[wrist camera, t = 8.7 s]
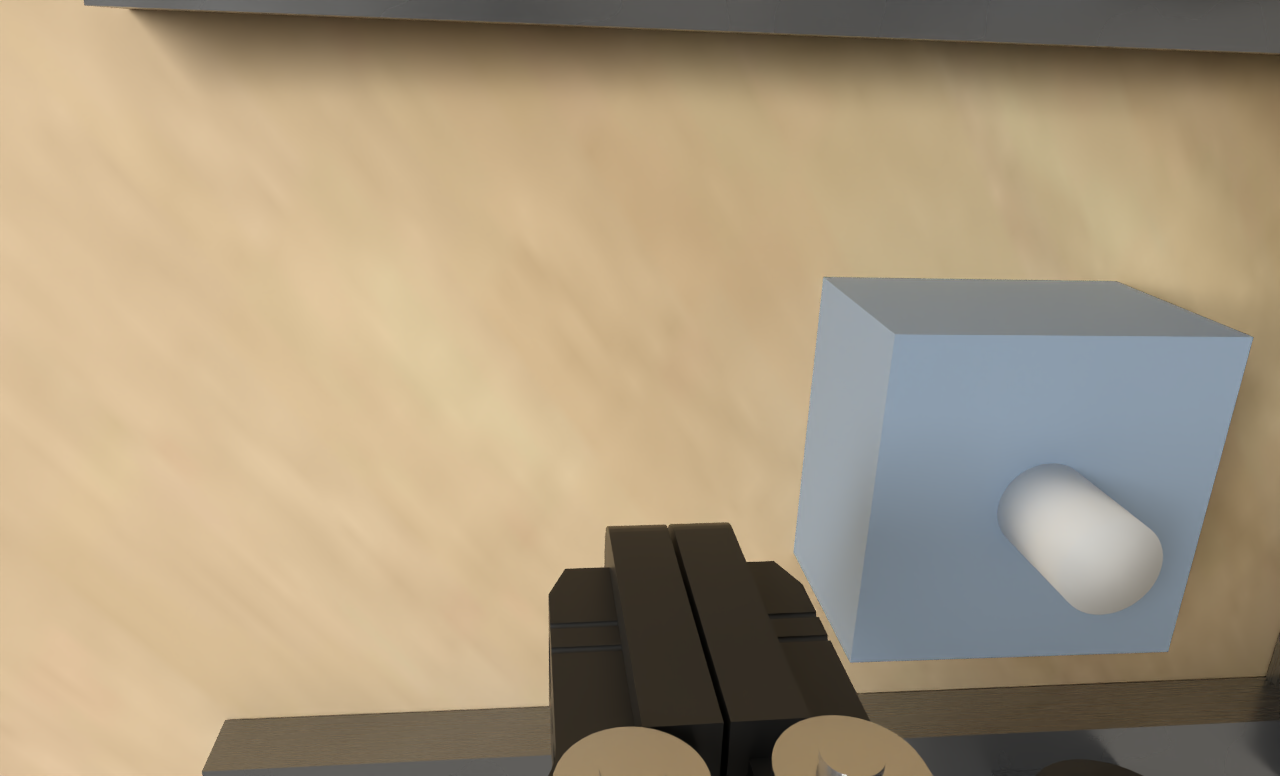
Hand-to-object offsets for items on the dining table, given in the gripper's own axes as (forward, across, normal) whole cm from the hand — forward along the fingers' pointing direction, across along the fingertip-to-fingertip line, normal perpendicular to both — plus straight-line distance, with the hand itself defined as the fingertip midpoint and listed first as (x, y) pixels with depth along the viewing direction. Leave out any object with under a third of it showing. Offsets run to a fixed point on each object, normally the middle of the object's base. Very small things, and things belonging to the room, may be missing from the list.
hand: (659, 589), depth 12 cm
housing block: (+7, -7, +1) cm, 10 cm away
